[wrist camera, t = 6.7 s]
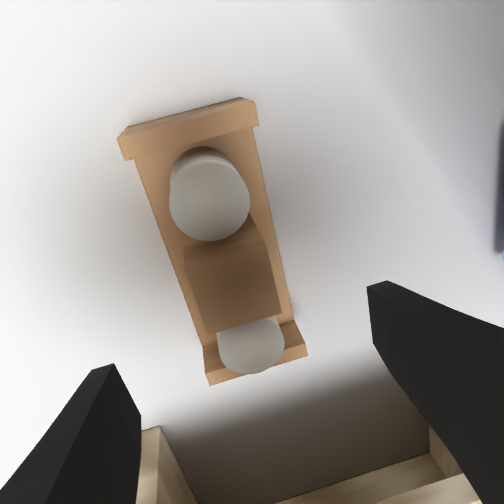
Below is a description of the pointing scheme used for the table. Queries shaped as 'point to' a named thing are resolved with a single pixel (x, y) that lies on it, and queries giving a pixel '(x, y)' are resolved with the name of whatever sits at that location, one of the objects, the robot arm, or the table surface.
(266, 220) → the caddy
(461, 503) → the wooden crate
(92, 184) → the table surface
